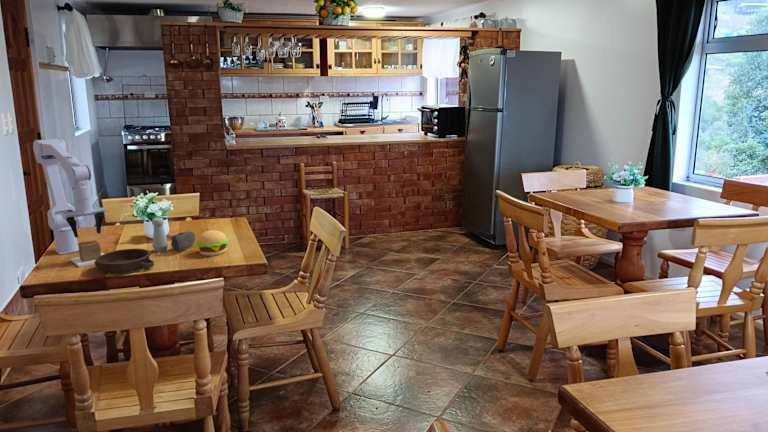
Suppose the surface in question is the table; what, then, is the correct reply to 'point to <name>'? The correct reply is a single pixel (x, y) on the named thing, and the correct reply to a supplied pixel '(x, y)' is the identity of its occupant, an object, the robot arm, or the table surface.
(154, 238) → the salt shaker
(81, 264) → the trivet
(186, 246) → the perforated stone tool
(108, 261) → the dish
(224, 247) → the hamburger
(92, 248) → the walnut cube
